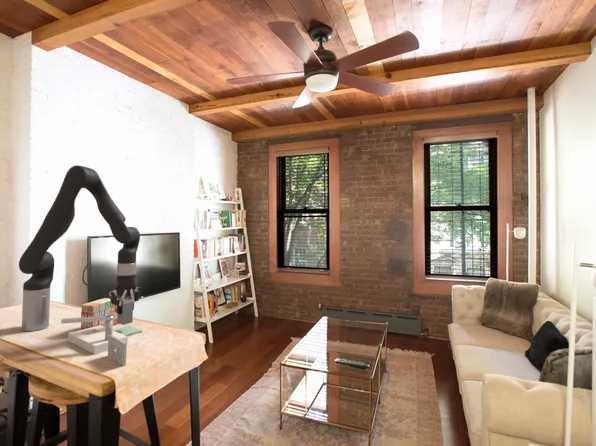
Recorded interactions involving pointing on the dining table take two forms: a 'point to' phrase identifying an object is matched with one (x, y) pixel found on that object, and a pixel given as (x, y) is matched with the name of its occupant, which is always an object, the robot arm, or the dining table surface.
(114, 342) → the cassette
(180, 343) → the dining table surface
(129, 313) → the plug
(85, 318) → the clip
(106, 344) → the socket block
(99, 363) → the dining table surface
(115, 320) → the stack of blocks
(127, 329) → the mat
